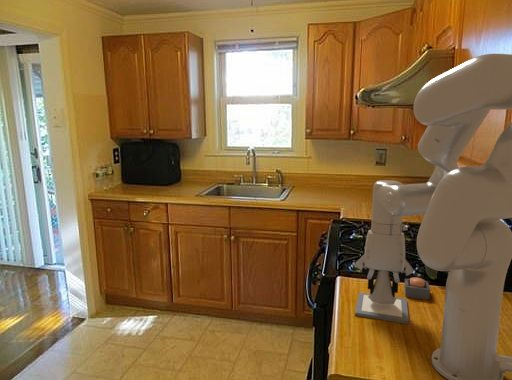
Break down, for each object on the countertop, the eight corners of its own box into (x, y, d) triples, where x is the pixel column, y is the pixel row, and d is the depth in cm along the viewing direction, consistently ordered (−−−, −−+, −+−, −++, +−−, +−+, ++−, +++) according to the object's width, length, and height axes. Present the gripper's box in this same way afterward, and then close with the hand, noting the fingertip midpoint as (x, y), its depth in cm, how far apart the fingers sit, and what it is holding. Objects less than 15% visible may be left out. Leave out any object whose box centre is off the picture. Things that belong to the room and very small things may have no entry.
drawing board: (406, 301, 105) (406, 298, 105) (408, 323, 93) (408, 320, 93) (358, 294, 110) (358, 292, 109) (354, 315, 98) (355, 312, 97)
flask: (398, 306, 97) (400, 270, 95) (369, 304, 98) (371, 268, 97) (393, 294, 104) (396, 260, 102) (366, 292, 105) (368, 258, 104)
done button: (423, 287, 111) (424, 278, 111) (424, 292, 108) (425, 283, 107) (409, 285, 113) (409, 276, 112) (409, 290, 109) (410, 281, 109)
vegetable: (423, 279, 120) (427, 219, 117) (421, 275, 124) (426, 216, 121) (438, 281, 119) (443, 220, 116) (436, 276, 123) (441, 217, 120)
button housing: (427, 290, 112) (427, 281, 112) (429, 299, 106) (430, 289, 106) (404, 287, 114) (405, 278, 114) (405, 296, 108) (405, 286, 108)
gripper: (420, 227, 99) (415, 292, 102) (353, 221, 104) (351, 283, 107) (422, 234, 92) (417, 304, 95) (351, 228, 97) (348, 294, 100)
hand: (382, 292), depth 101 cm, fingers closed on flask, 4 cm apart
